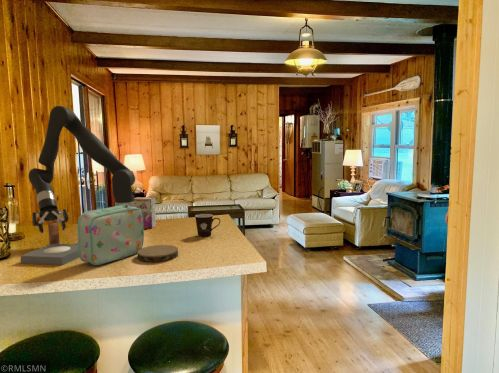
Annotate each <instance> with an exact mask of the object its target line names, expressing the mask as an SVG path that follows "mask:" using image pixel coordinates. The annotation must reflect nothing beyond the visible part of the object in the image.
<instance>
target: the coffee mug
mask: <svg viewBox="0 0 499 373" xmlns="http://www.w3.org/2000/svg"><path fill="white" fill-rule="evenodd" d="M213 216H214V215H213V214H209V213H201V214H195V216H194V217H195V224H196V230H197V231H196V232H197V237H199V238H207V237H208V236H209V237H211V236H212V232H213V230H214V229H216V228H217V227H218V226H219V225H221V219H220V218H218V217H214V218H213ZM214 220H218V221H219V222H218V224H217V225H215V226H214V227H213V222H214Z"/></svg>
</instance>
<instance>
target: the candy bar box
mask: <svg viewBox="0 0 499 373" xmlns="http://www.w3.org/2000/svg"><path fill="white" fill-rule="evenodd" d="M134 205H135V207H136V208H139V209H141V210H142V212H143V218H144V229H154V228H156V227H157V220H156V217H157V216H156V213H157V212H156V198H155V197H141V196H140V197H139V196H138V197H134Z"/></svg>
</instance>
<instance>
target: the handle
mask: <svg viewBox="0 0 499 373" xmlns="http://www.w3.org/2000/svg"><path fill="white" fill-rule="evenodd" d="M47 227H48V228H47V229H48V240H49V243H48V244H46V246H48V245H50V244H64V243H63V242H60V232H59V222H58V221H51V222H47Z"/></svg>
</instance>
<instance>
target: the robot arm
mask: <svg viewBox="0 0 499 373" xmlns="http://www.w3.org/2000/svg"><path fill="white" fill-rule="evenodd" d="M63 128H64V129H66V130H67V131H68V132H69V133H71V134H72V135H73V136H74V138H75V139H76V141H77V143H78V145H79V146H80V148H81V149H82V151H83V152H84V153H85V154H86V155H87V156H88V157H89V158H90V159H92V160H93V161H94V162H95V163H97V164H98V165H100V166H102V167H103V168H105V169H106V170H108V172H110V174H111V175H112V177H111V188H112V189H111V190H112V195H113V199H114V206H119V205H122V204H128V206H131V207H135V205H134V198H135V195H134V194H133V191H132V186H133V185H134V184H135V182H136V176H135V173H134V172H133V171H132V170H131V169H130V168H128V167H127V166H126V165H125V164H124V163H122V162H121V161H120V160H119V159H118V158H117V157H116V156H115V155H114V153H113V152H112V151H111V150H110V149H109V148H108V147H107V146H106V145H105V144H104V143H103V141H101V140H100V139H99V138H98V137H97V136H96V135H95V134H94V133H93V132H92V131H91V130H90V129H88V128H87V126H85V124H84V123H83V122H82V121H81V119H80V118H79V117H78V116H77V115H76V113H75V112H74V111H73V110H72V109H70V108H68V107H66V106H63V105H56V106H53V107H52V109H51V110H50V113H49V116H48V122H47V129H46V134H45V138H44V142H43V146H42V149H41V151H40V154H39V157H38V163H39V164H40V165H42V166H45V169H41V168H37V167H36V168H35V167H34V168H32V169H30V171H29V172H28V180H29V183H30V184H31V186H32V187H33V189H34V190H35V194H36V200H37V201H36V203H37V205H38V211H39V213H38V212H37V213H36V212H32V215H31V216H32V217H31V218H32V225H33V227H38V230H39V232H40V233H41V234H44V232H45V231H44V226H43V224H44V223H45V222H58V223H59V224H60V225H61V226H60V227H61V230H62V231H65V229H66V228H67V224H66V223H68V222H69V215H68V213H67V209H64V208H63V210H59V208H58V204H57V200H56V196H55V193H54V192H53V191H54V189H53V187H52V185H51V183H52V182H53V180H54V168H55V162H56V160H57V157H58V153H59V147H60V137H61V133H62V130H63ZM62 216H63V217H62ZM38 218H40V219H39V221H38V220H37V219H38Z"/></svg>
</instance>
